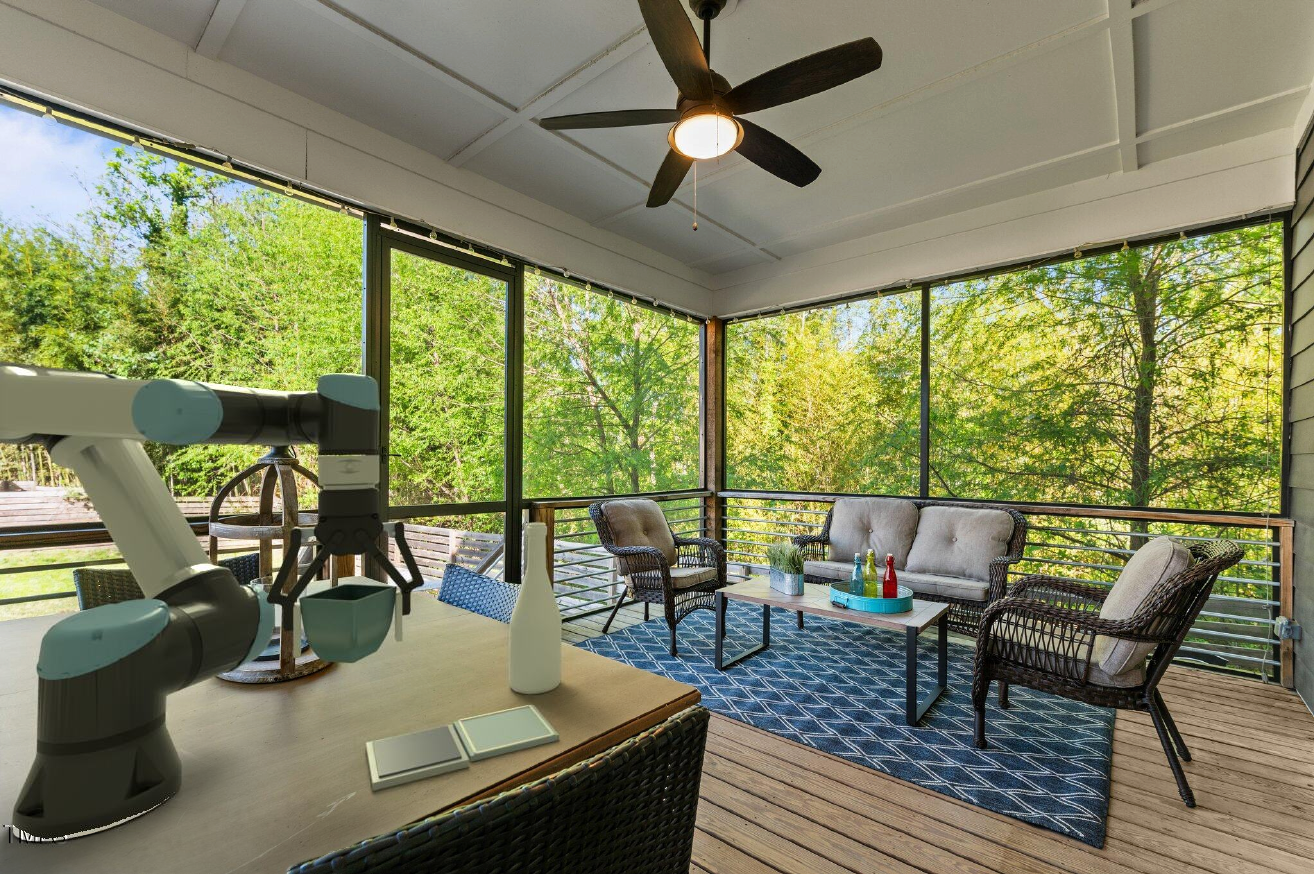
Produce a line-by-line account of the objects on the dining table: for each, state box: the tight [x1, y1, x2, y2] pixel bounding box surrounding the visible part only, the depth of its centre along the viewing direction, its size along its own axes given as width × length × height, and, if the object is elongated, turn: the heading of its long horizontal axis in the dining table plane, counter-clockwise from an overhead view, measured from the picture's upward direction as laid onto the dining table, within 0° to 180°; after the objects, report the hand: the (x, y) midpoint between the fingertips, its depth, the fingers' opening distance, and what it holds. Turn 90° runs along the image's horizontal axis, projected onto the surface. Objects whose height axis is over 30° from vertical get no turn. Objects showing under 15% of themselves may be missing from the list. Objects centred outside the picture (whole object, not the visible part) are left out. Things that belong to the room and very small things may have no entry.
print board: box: [452, 704, 560, 763], centre depth 92 cm, size 13×12×1 cm
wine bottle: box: [508, 521, 563, 695], centre depth 111 cm, size 10×10×30 cm
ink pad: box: [365, 723, 470, 791], centre depth 84 cm, size 12×12×1 cm
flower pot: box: [298, 583, 398, 664], centre depth 81 cm, size 9×9×9 cm
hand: (349, 646), depth 81 cm, fingers closed on flower pot, 12 cm apart
